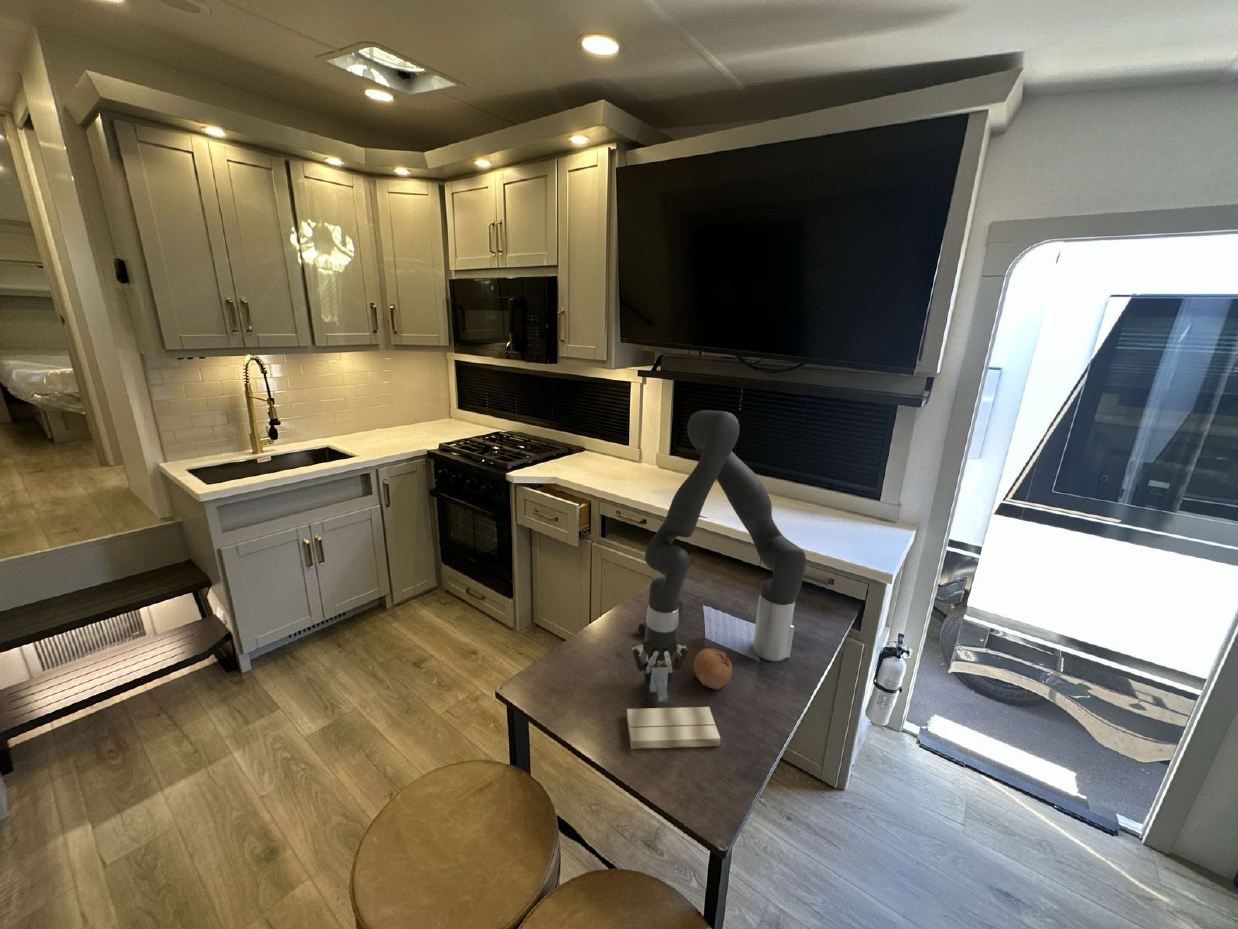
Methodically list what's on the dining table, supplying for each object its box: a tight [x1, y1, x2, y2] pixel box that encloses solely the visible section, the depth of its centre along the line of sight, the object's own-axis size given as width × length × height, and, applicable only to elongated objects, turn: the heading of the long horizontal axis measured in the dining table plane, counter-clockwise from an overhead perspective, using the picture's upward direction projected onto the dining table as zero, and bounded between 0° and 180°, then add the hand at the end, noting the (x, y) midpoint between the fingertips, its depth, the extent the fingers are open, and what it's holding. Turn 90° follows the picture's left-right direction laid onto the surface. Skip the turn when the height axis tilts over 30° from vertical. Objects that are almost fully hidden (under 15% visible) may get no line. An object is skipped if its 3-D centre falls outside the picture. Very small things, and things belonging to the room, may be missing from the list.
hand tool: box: [637, 601, 684, 638], centre depth 147 cm, size 19×4×5 cm, turn 133°
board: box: [626, 706, 721, 750], centre depth 108 cm, size 19×9×2 cm, turn 95°
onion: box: [693, 647, 733, 691], centre depth 122 cm, size 10×9×10 cm
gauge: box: [648, 660, 669, 702], centre depth 117 cm, size 4×10×8 cm, turn 5°
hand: (657, 682), depth 121 cm, fingers closed on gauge, 4 cm apart
